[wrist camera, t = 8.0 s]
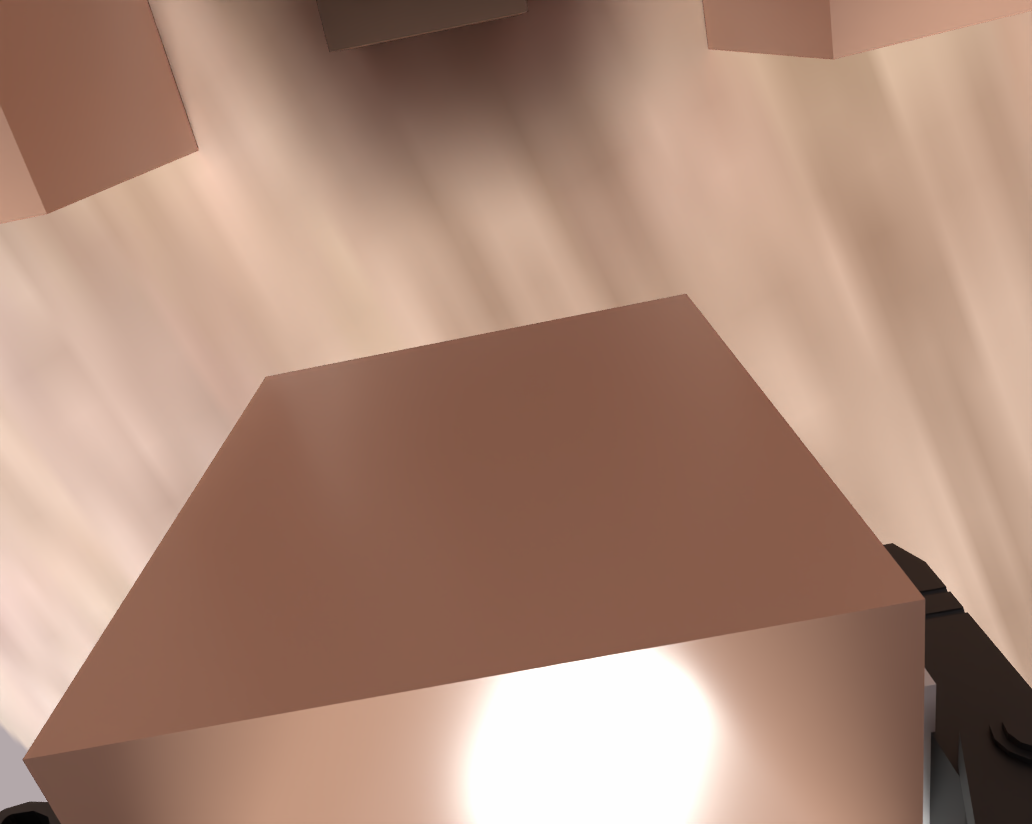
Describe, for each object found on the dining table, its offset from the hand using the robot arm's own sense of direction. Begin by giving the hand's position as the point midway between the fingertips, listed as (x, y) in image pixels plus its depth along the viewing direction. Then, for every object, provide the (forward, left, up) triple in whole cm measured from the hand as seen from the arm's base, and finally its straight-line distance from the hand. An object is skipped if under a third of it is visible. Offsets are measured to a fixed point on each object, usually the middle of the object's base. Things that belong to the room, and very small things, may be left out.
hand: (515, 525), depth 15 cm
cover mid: (0, 0, 0) cm, 0 cm away
